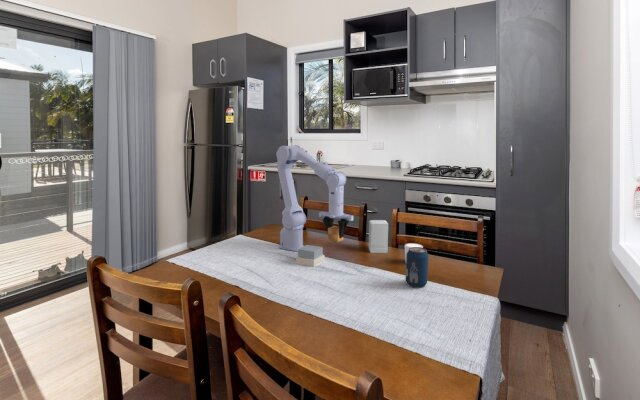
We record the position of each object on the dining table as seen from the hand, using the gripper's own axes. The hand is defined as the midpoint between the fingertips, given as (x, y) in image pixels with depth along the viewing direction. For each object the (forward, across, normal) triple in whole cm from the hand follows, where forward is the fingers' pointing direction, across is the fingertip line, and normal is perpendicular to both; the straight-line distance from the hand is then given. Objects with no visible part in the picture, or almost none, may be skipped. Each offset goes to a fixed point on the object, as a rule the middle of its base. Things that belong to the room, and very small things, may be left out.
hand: (335, 236), depth 156 cm
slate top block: (+6, -5, -10) cm, 13 cm away
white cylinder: (+9, +29, +9) cm, 32 cm away
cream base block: (+9, -5, -11) cm, 15 cm away
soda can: (+9, +37, -12) cm, 40 cm away
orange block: (+1, 0, 0) cm, 1 cm away
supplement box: (+9, +11, +17) cm, 22 cm away
